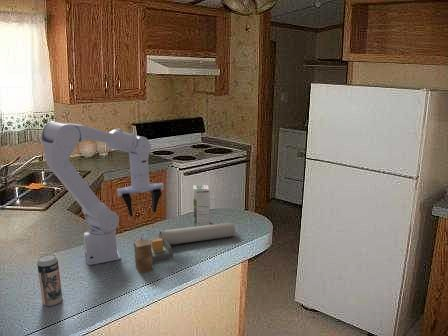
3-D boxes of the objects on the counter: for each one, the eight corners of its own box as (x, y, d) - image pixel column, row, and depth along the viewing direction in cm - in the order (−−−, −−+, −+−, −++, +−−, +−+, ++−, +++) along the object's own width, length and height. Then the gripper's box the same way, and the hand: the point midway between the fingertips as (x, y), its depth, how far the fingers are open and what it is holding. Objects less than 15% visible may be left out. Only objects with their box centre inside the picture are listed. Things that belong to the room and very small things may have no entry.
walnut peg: (138, 273, 120) (137, 247, 118) (135, 267, 123) (133, 241, 121) (152, 270, 121) (151, 244, 119) (149, 264, 125) (147, 239, 123)
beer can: (47, 309, 103) (41, 264, 100) (38, 302, 106) (32, 258, 103) (66, 301, 106) (61, 257, 103) (57, 294, 109) (51, 251, 106)
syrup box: (193, 222, 156) (192, 184, 153) (209, 221, 157) (208, 184, 153) (194, 228, 151) (192, 189, 147) (210, 227, 151) (209, 188, 148)
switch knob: (163, 248, 130) (162, 240, 130) (153, 250, 129) (152, 242, 128) (161, 247, 132) (161, 238, 131) (152, 248, 131) (151, 240, 130)
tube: (231, 221, 146) (159, 229, 139) (236, 221, 141) (161, 230, 134) (233, 236, 146) (160, 246, 139) (237, 237, 141) (163, 247, 133)
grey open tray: (172, 257, 129) (172, 246, 128) (150, 262, 126) (149, 251, 125) (161, 242, 139) (161, 232, 139) (140, 246, 137) (140, 236, 136)
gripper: (118, 179, 128) (122, 221, 132) (165, 173, 134) (167, 213, 137) (114, 173, 134) (118, 214, 138) (159, 168, 140) (161, 207, 143)
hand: (142, 213), depth 138 cm, fingers open, 7 cm apart
